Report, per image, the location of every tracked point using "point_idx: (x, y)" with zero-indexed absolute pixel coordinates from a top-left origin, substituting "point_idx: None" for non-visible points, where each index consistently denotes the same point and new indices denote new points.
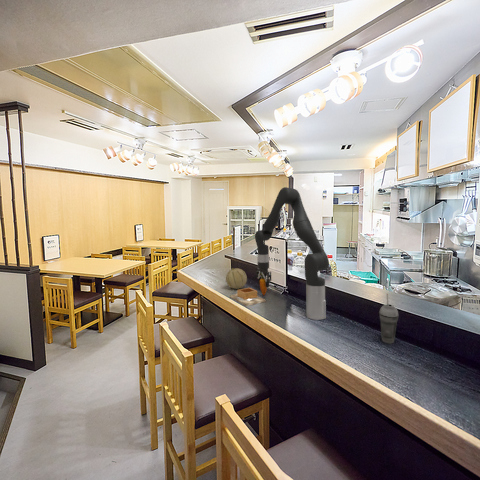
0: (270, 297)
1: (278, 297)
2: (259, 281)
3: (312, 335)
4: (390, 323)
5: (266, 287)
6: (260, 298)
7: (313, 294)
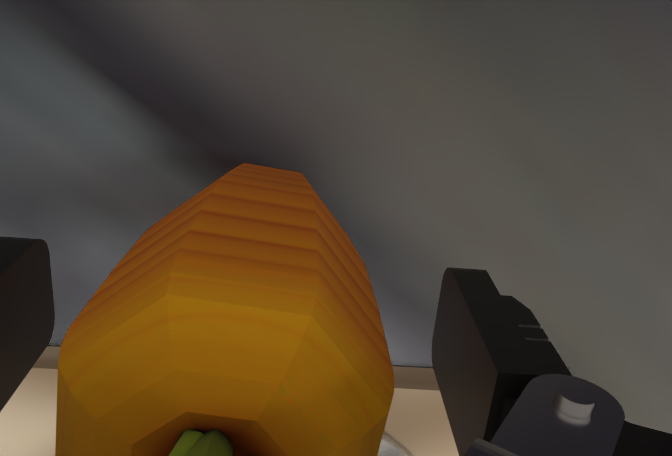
0: (461, 156)
1: (592, 12)
2: (5, 384)
3: None
4: None
5: (358, 254)
6: None
7: None
